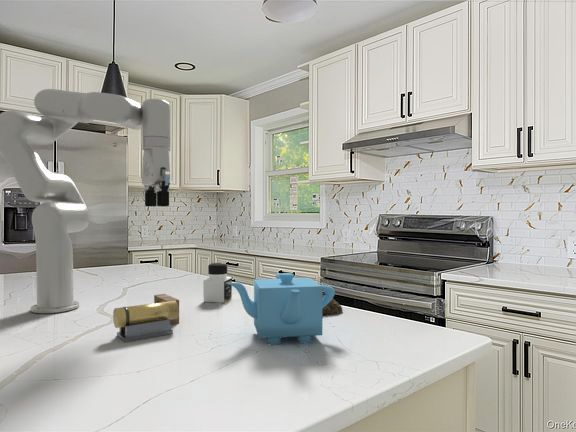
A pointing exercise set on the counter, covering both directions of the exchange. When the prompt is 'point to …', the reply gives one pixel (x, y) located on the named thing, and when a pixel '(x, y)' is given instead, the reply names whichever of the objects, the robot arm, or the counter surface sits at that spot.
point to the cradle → (144, 330)
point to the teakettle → (286, 307)
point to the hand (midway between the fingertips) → (156, 206)
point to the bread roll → (331, 308)
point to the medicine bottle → (217, 284)
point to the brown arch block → (166, 298)
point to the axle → (145, 313)
